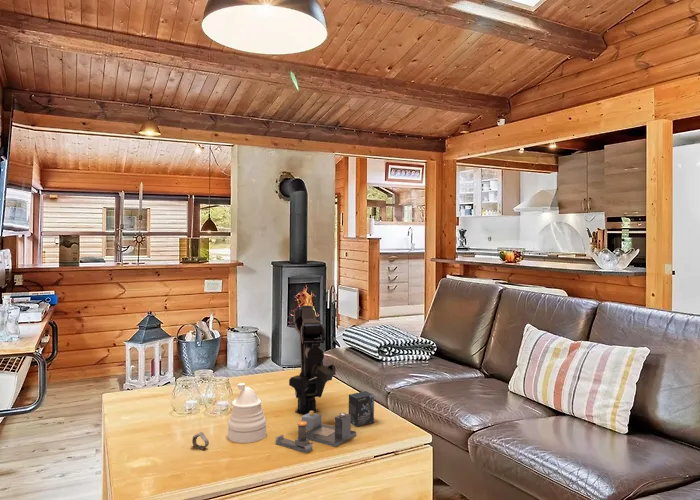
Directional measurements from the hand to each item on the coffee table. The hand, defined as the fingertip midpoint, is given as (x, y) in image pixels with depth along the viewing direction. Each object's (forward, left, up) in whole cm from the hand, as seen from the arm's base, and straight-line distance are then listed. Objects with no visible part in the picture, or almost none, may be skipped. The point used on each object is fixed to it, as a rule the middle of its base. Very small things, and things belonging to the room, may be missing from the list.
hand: (311, 400), depth 183 cm
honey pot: (-14, -18, -10) cm, 25 cm away
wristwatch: (-19, -34, -10) cm, 40 cm away
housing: (0, 0, -10) cm, 10 cm away
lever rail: (+6, -17, -10) cm, 20 cm away
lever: (+9, -17, -8) cm, 21 cm away
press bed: (+10, -3, -10) cm, 14 cm away
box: (+12, +14, -10) cm, 21 cm away
